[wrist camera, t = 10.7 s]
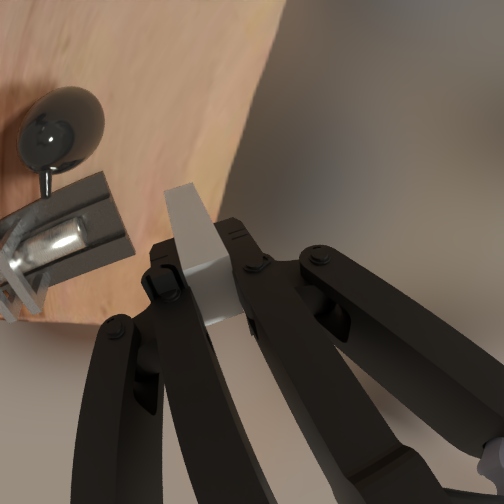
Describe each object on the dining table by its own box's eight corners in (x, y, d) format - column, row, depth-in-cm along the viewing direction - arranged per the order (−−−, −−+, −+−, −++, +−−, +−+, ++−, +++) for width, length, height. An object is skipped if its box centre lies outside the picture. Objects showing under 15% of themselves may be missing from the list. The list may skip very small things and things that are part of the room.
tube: (6, 280, 35) (-7, 288, 30) (-3, 255, 33) (-17, 261, 29) (90, 244, 38) (81, 249, 34) (81, 215, 37) (71, 218, 33)
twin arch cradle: (-25, 234, 30) (-47, 266, 23) (102, 170, 35) (93, 194, 28) (15, 297, 39) (3, 333, 32) (135, 251, 44) (137, 287, 37)
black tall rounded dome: (42, 165, 31) (0, 212, 19) (38, 92, 25) (-15, 105, 14) (109, 156, 34) (93, 198, 23) (109, 81, 29) (87, 80, 17)
